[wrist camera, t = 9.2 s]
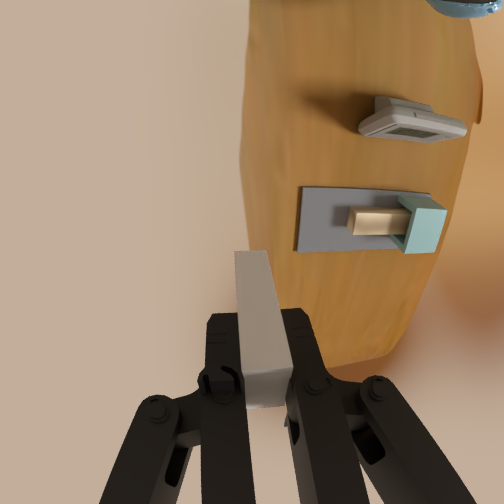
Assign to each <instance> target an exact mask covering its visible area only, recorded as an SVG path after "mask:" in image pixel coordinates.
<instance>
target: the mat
mask: <svg viewBox="0 0 504 504" xmlns="http://www.w3.org/2000/svg"><path fill="white" fill-rule="evenodd" d="M399 195H407V196H419V197H429V198H431V194H428V193H418V192H408V191H395V190H382V189H365V188H344V187H308V186H302V197H301V210H300V221H299V232H298V243H297V253H305V252H329V251H352V250H375V249H397V248H399V247H398V246H397V245H396V244H395V243H394V242H393V241H392V240H391V239H390V238H389V236H390V234H386V235H352V233H351V232H350V231H349V230H348V228H347V227H346V226H347V220H348V214H349V208H350V206H371V207H396V208H406V207H405V206H403V205H402V204H401V203H399V202H398V196H399Z"/></svg>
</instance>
